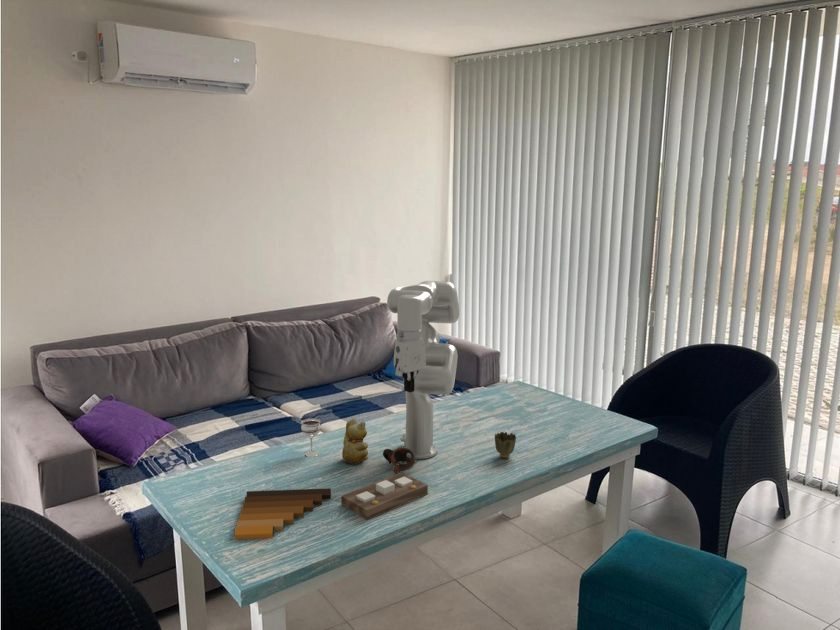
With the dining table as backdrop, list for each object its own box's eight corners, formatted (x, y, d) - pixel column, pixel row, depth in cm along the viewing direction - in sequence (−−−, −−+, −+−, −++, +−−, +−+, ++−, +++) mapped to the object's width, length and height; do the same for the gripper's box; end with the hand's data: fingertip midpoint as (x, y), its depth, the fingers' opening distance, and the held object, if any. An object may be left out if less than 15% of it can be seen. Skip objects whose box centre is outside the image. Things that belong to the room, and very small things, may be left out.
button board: (341, 505, 209) (341, 495, 208) (401, 481, 225) (401, 471, 224) (366, 519, 200) (366, 509, 199) (427, 493, 216) (427, 484, 216)
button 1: (356, 503, 207) (356, 495, 207) (366, 498, 210) (366, 491, 209) (364, 507, 204) (364, 500, 204) (375, 503, 207) (375, 495, 207)
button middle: (375, 491, 212) (375, 483, 212) (385, 487, 215) (385, 479, 214) (384, 496, 209) (384, 488, 209) (394, 491, 212) (394, 484, 211)
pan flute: (331, 495, 216) (248, 499, 213) (330, 485, 215) (247, 488, 213) (328, 537, 191) (235, 542, 189) (328, 526, 191) (234, 530, 188)
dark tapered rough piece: (490, 458, 242) (491, 437, 241) (498, 451, 249) (499, 430, 247) (510, 463, 239) (511, 441, 237) (518, 455, 245) (519, 434, 244)
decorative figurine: (372, 461, 240) (372, 419, 237) (357, 469, 233) (357, 426, 230) (350, 454, 245) (350, 413, 242) (335, 462, 238) (334, 420, 235)
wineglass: (320, 458, 242) (319, 425, 239) (300, 458, 242) (299, 425, 239) (322, 450, 248) (321, 418, 246) (303, 450, 248) (302, 418, 246)
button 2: (394, 487, 217) (394, 480, 217) (404, 483, 220) (404, 476, 219) (403, 492, 214) (403, 484, 214) (412, 488, 217) (412, 480, 217)
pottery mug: (419, 465, 238) (420, 450, 233) (407, 486, 232) (409, 471, 226) (387, 451, 241) (388, 436, 236) (374, 472, 235) (375, 457, 229)
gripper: (399, 340, 211) (399, 399, 214) (435, 333, 221) (434, 388, 224) (383, 336, 216) (383, 393, 220) (418, 329, 226) (418, 383, 230)
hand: (409, 390), depth 222 cm, fingers closed
